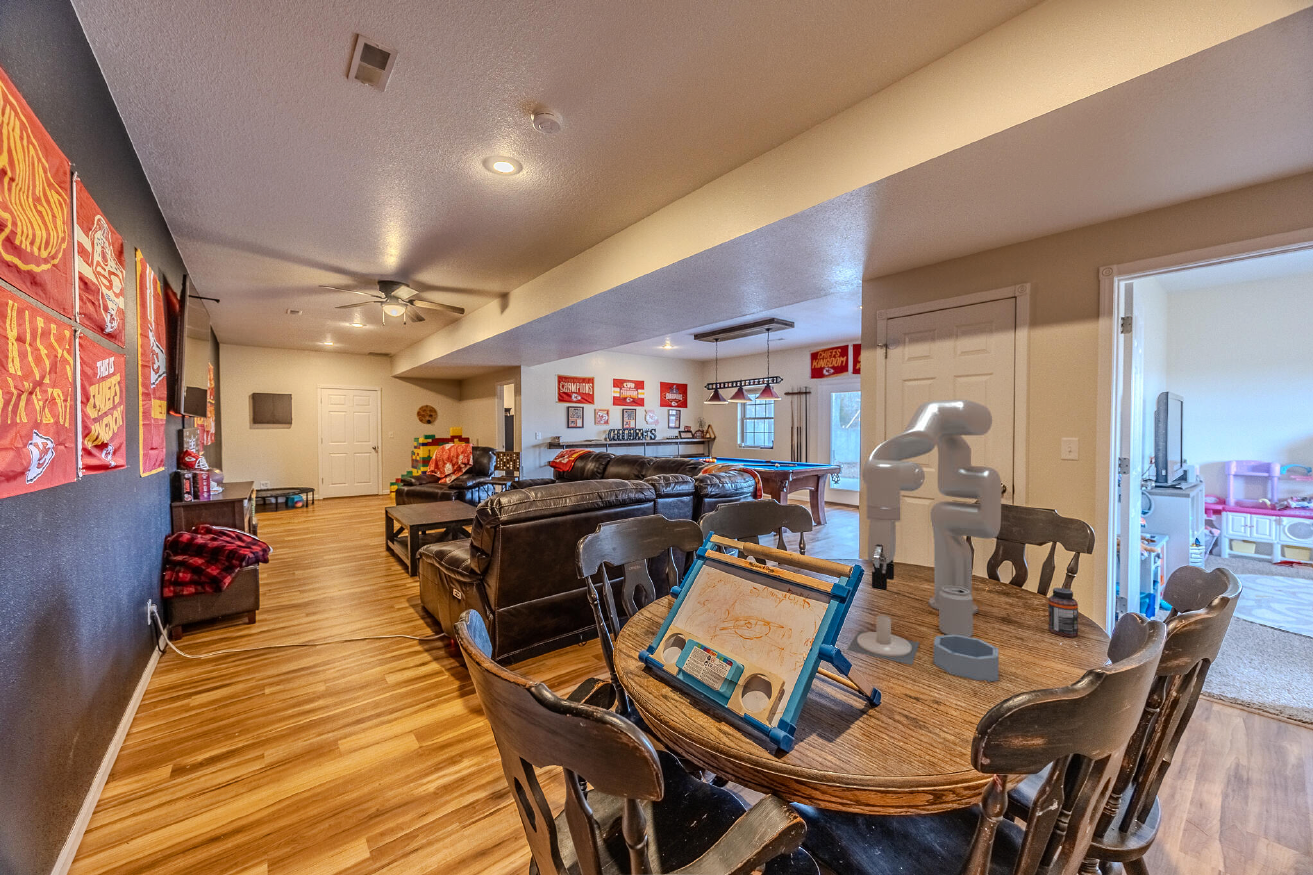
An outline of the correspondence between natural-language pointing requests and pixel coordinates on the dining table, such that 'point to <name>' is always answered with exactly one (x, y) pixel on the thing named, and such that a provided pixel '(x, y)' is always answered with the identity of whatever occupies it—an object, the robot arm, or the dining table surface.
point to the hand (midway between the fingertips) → (883, 583)
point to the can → (955, 611)
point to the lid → (884, 640)
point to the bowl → (967, 657)
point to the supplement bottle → (1063, 613)
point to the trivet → (905, 659)
